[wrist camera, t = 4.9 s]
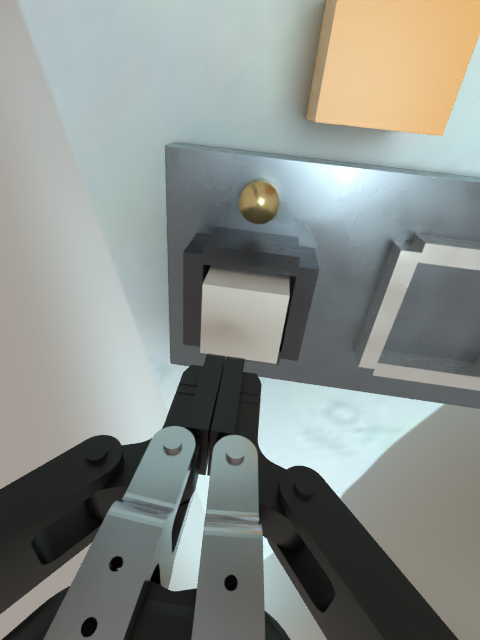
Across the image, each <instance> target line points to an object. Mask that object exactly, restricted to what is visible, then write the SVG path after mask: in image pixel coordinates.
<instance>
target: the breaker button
mask: <svg viewBox="0 0 480 640" xmlns="http://www.w3.org/2000/svg"><path fill="white" fill-rule="evenodd" d="M289 297H290V288H289V276H288V275H281V274H273V273H265V272H258V271H250V270H243V269H235V268H228V267H220V266H212V265H211V267H210V269H209V272H208V274H207V276H206V278H205V280H204V282H203V285H202V313H201V341H200V353H204V354H207V353H208V354H215V355H222V356H226V357H227V356H230V357H237V358H244V359H245V360H252V361H259V362H266V363H273V364H277V358H278V353H279V348H280V343H281V338H282V333H283V328H284V323H285V317H286V312H287V307H288V302H289Z"/></svg>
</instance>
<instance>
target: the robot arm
mask: <svg viewBox="0 0 480 640" xmlns="http://www.w3.org/2000/svg"><path fill="white" fill-rule="evenodd" d="M225 359H226V362H225ZM244 363H245V359H244V358H237V357H230V356H227V358H226V356H222V355H215V354H208V353H207V355H206V358H205V362H204V365H203V366H199V365H191V366H190V367H189V368H188V369H187V370H186V371H184V372H183V375H182V377H181V380H180V383H179V385H178V388H177V391H176V394H175V396H174V399H173V402H172V405H171V407H170V410H169V413H168V415H167V418H166V421H165V424H164V426H163V428H162V429H161V430H160V431H158V432H157V433H156V434H155V435H154V436H153V438H151V439H150V440H147V441H145V442H142V443H136V444H129V445H122V446H121V444H120V442H119V441H118V440H117V439H116V438H114V437H112V436H108V435H100V436H94V437H91V438H89V439H87V440H85V441H83V442H82V443H80V444H78V445H77V446H75V447H73V448H71V449H70V450H68V451H66V452H64V453H63V454H61V455H59V456H57V457H56V458H54V459H52V460H50V461H49V462H47V463H46V464H44V465H42V466H40V467H38V468H37V469H35V470H33V471H31V472H30V473H28V474H26V475H24V476H23V477H21V478H19V479H18V480H16V481H14V482H12V483H11V484H9V485H7V486H6V487H4V488H2V489H0V614H1V613H2V612H4V611H5V610H6V609H7V608H9V607H10V606H11V605H12V604H14V603H15V602H16V601H18V600H19V599H20V598H22V597H23V596H24V595H25V594H27V593H28V592H29V591H30V590H32V589H33V588H34V587H36V586H37V585H38V584H39V583H41V582H42V581H43V580H44V579H46V578H47V577H48V576H50V575H51V574H52V573H53V572H55V571H56V570H57V569H59V568H60V567H61V566H62V565H64V564H65V563H66V562H67V561H69V560H70V559H71V558H73V557H74V556H75V555H76V554H78V553H79V552H80V551H81V550H83V549H84V548H85V547H87V546H88V545H89V544H90V543H92V542H93V543H92V544H91V546H90V548H89V550H88V552H87V554H86V556H85V558H84V560H83V562H82V564H81V566H80V568H79V570H78V572H77V574H76V576H75V578H74V580H73V582H72V584H71V586H69V587H67V588H66V589H64V590H62V591H60V592H59V593H57V594H56V595H54V596H53V597H51V598H50V599H48V600H47V601H46V602H45V603H44V604H42V605H41V606H40V607H39V608H38V609H37V610H35V611H34V612H33V613H32V614H31V615H30V616H28V617H27V618H26V619H25V620H24V621H23V622H22V623H20V624H19V625H18V626H17V627H16V628H15V629H13V630H12V631H11V632H10V633H9V634H8V635H7V636H5V637H4V638H3V639H2V640H290V638H289V637H288V635H287V634H286V632H285V631H284V630H283V628H282V627H281V626H280V625H279V623H277V621H276V620H275V619H274V618H273V617H272V616H270V615H269V614H268V613H267V612H266V611H265V610H264V571H263V536H264V537H266V538H267V540H268V543H269V545H270V547H271V548H272V550H273V551H274V553H275V555H276V556H277V558H278V560H279V561H280V563H281V565H282V566H283V567H284V569H285V571H286V573H287V574H288V576H289V577H290V579H291V581H292V582H293V584H294V586H295V587H296V589H297V591H298V592H299V594H300V596H301V597H302V599H303V601H304V602H305V604H306V606H307V607H308V609H309V610H310V612H311V614H312V615H313V617H314V619H315V620H316V622H317V624H318V625H319V627H320V628H321V630H322V632H323V633H324V635H325V637H326V638H327V640H458V639H457V637H456V636H455V635H454V634H453V633H452V631H451V630H450V629H449V628H448V627H447V625H446V624H445V623H444V622H443V621H442V620H441V618H440V617H439V616H438V615H437V614H436V612H435V611H434V610H433V609H432V608H431V606H430V605H429V604H428V603H427V602H426V600H425V599H424V598H423V597H422V596H421V595H420V593H419V592H418V591H417V590H416V589H415V587H414V586H413V585H412V584H411V583H410V582H409V581H408V579H407V578H406V577H405V576H404V574H403V573H402V572H401V571H400V570H399V568H398V567H397V566H396V565H395V564H394V562H393V561H392V560H391V559H390V558H389V556H388V555H387V554H386V553H385V552H384V551H383V550H382V548H381V547H380V546H379V545H378V543H377V542H376V541H375V540H374V539H373V537H372V536H371V535H370V534H369V533H368V531H367V530H366V529H365V528H364V527H363V526H362V524H361V523H360V522H359V521H358V520H357V518H356V517H355V516H354V515H353V514H352V512H351V511H350V510H349V509H348V508H347V507H346V505H345V504H344V503H343V502H342V501H341V499H340V498H339V497H338V496H337V495H336V493H335V492H334V491H333V490H332V489H331V487H330V486H329V485H328V484H327V483H326V482H325V480H324V479H323V478H322V477H321V476H320V475H319V474H318V473H317V472H316V471H314V470H313V469H311V468H308V467H305V466H293V467H290V468H288V469H287V470H286V469H284V468H282V467H280V466H278V465H276V464H274V463H272V462H271V461H269V460H268V459H267V458H266V457H265V456H264V455H263V454H262V452H261V451H260V449H259V446H258V425H259V411H260V396H261V382H260V380H259V378H258V375H257V374H255V373H248V372H243V370H244ZM207 465H208V473H207V475H209V476H210V481H209V490H208V499H207V508H206V517H205V523H204V531H203V540H202V549H201V558H200V568H199V576H198V586H197V588H196V589H191V590H183V591H175V592H174V591H170V590H168V587H169V583H170V579H171V574H172V569H173V564H174V559H175V555H176V552H177V549H178V545H179V542H180V539H181V535H182V532H183V529H184V525H185V522H186V519H187V516H188V512H189V509H190V506H191V502H192V499H193V494H194V491H195V488H196V484H197V479H198V475H199V474H202V475H206V470H207Z"/></svg>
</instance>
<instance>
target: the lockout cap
mask: <svg viewBox="0 0 480 640" xmlns="http://www.w3.org/2000/svg"><path fill="white" fill-rule="evenodd" d="M479 34H480V0H326V3H325V9H324V15H323V21H322V26H321V32H320V38H319V44H318V50H317V56H316V62H315V68H314V74H313V80H312V86H311V91H310V97H309V103H308V109H307V115H306V119H307V120H310V121H313V122H318V123H327V124H336V125H346V126H355V127H364V128H373V129H382V130H391V131H400V132H410V133H419V134H428V135H437V136H442V135H443V133H444V130H445V127H446V124H447V122H448V119H449V116H450V114H451V111H452V108H453V105H454V103H455V100H456V97H457V94H458V92H459V89H460V86H461V83H462V81H463V78H464V75H465V73H466V70H467V67H468V64H469V62H470V59H471V56H472V53H473V51H474V48H475V45H476V42H477V40H478V37H479Z"/></svg>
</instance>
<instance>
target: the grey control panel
mask: <svg viewBox="0 0 480 640" xmlns="http://www.w3.org/2000/svg"><path fill="white" fill-rule="evenodd" d="M165 164H166V203H167V243H168V283H169V323H170V362H171V364H177V365H184V366H191V365H199V366H203V365H204V362H205V358H206V355H207V354H204V353H200V341H201V313H202V285H203V282H204V280H205V278H206V276H207V274H208V272H209V269H210V267H211V265H212V266H220V267H228V268H235V269H243V270H250V271H258V272H265V273H273V274H281V275H288V276H289V288H290V297H289V302H288V307H287V312H286V317H285V323H284V328H283V333H282V338H281V343H280V348H279V353H278V358H277V364H273V363H266V362H259V361H252V360H245V363H244V370H243V372H248V373H255V374H257V375H258V376H259V377H266V378H273V379H280V380H287V381H293V382H300V383H307V384H314V385H321V386H327V387H334V388H341V389H348V390H355V391H362V392H368V393H375V394H382V395H389V396H396V397H403V398H409V399H416V400H423V401H430V402H437V403H444V404H451V405H457V406H464V407H471V408H478V409H480V178H478V177H469V176H461V175H452V174H443V173H435V172H426V171H417V170H409V169H400V168H391V167H383V166H374V165H365V164H357V163H348V162H339V161H331V160H322V159H313V158H305V157H296V156H287V155H279V154H270V153H261V152H252V151H244V150H235V149H226V148H218V147H209V146H200V145H192V144H183V143H173V144H170V145H166V146H165ZM226 358H227V357H226ZM225 362H226V359H225Z"/></svg>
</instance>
